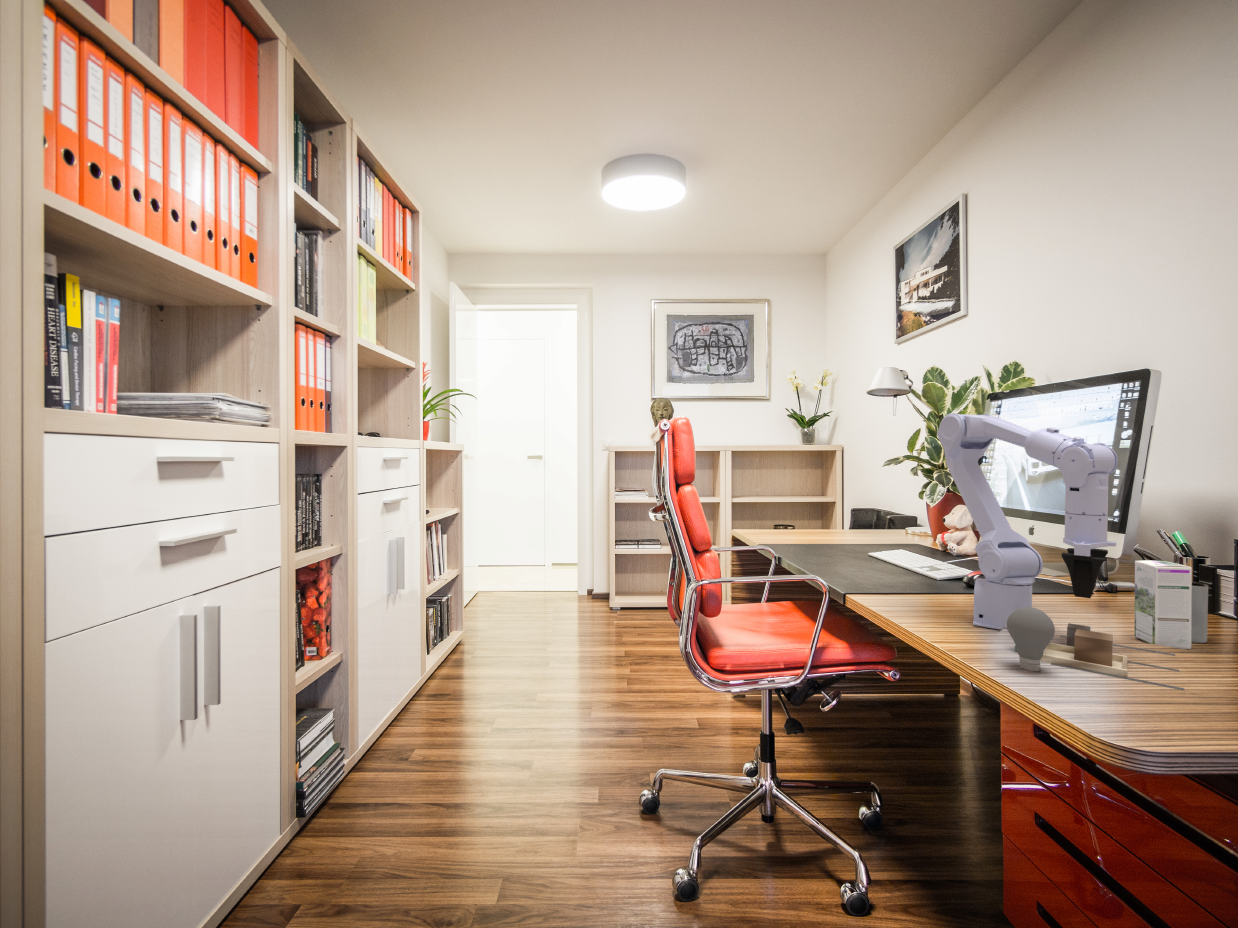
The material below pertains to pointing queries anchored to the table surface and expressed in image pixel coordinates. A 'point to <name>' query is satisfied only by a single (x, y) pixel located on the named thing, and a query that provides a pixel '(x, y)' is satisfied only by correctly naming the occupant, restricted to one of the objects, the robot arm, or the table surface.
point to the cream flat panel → (1071, 632)
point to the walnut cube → (1093, 647)
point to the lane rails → (1129, 662)
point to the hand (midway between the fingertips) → (1084, 593)
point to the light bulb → (1030, 635)
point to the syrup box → (1163, 603)
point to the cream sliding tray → (1066, 657)
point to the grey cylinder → (1199, 612)
